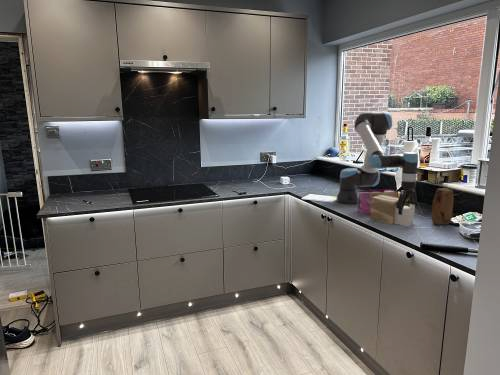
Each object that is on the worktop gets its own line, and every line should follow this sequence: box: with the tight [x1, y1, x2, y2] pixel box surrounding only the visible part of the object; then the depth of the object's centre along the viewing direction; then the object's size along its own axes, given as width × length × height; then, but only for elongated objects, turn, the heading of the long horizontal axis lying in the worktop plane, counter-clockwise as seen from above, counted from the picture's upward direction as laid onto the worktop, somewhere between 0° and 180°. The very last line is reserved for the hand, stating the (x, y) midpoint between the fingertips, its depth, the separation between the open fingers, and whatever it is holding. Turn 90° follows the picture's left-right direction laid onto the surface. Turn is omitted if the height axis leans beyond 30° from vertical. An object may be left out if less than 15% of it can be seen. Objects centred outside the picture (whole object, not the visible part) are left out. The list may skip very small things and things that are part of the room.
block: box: [431, 187, 454, 226], centre depth 211 cm, size 11×8×20 cm
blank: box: [394, 204, 415, 227], centre depth 215 cm, size 6×18×10 cm, turn 42°
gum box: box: [357, 189, 399, 215], centre depth 237 cm, size 24×8×14 cm, turn 96°
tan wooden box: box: [369, 195, 399, 225], centre depth 219 cm, size 10×14×13 cm
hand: (406, 217), depth 211 cm, fingers open, 13 cm apart
